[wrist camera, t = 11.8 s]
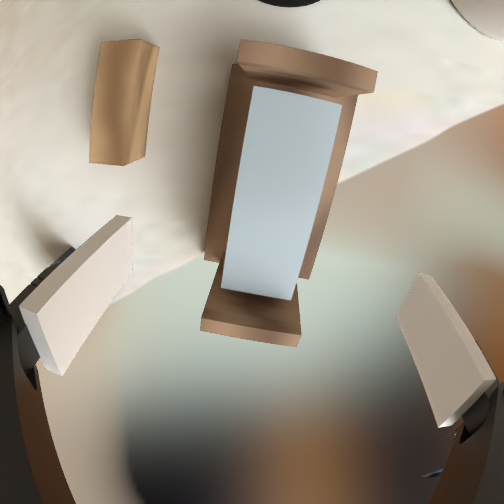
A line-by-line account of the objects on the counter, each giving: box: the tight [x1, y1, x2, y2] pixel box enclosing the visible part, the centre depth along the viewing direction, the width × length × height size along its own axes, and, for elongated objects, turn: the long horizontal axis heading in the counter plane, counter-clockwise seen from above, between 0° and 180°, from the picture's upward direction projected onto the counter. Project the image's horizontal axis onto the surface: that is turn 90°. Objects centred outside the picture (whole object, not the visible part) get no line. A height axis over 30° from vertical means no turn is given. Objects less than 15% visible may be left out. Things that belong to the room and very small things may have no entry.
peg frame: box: [200, 40, 378, 347], centre depth 23 cm, size 12×21×12 cm, turn 170°
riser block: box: [89, 39, 159, 166], centre depth 23 cm, size 4×12×5 cm, turn 170°
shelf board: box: [221, 86, 342, 300], centre depth 22 cm, size 6×16×3 cm, turn 170°
